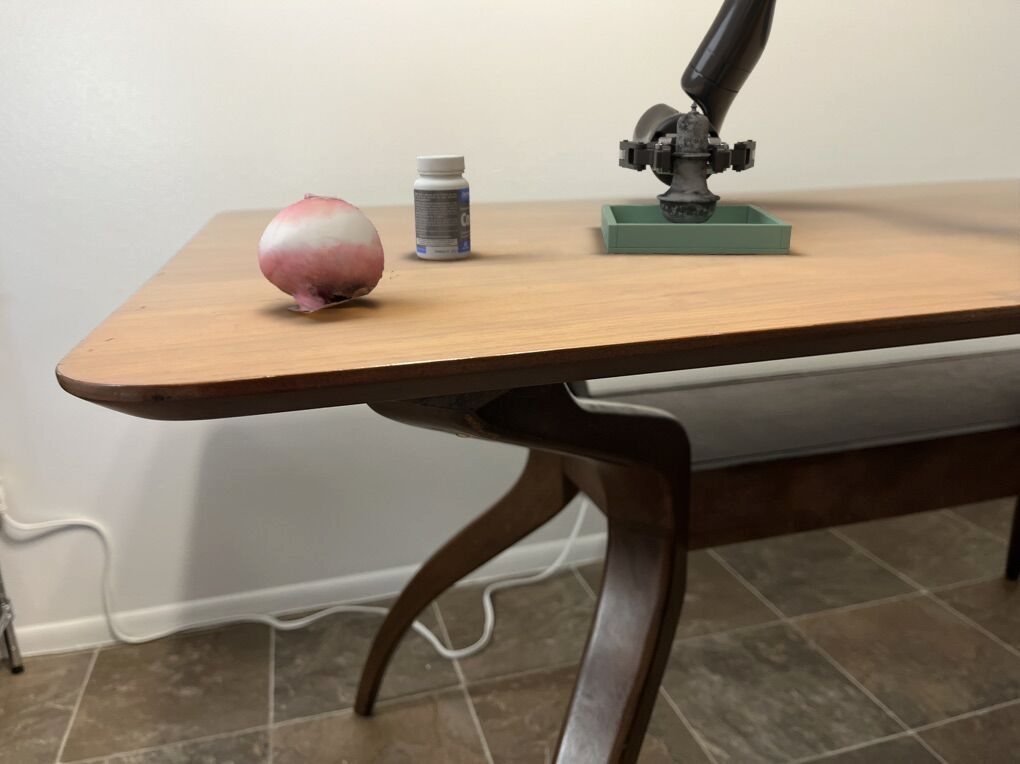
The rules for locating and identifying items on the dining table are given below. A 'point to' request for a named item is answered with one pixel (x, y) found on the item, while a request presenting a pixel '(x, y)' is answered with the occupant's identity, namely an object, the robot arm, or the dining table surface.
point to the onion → (321, 253)
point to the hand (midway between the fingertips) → (693, 160)
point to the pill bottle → (442, 208)
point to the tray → (694, 231)
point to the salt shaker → (689, 174)
